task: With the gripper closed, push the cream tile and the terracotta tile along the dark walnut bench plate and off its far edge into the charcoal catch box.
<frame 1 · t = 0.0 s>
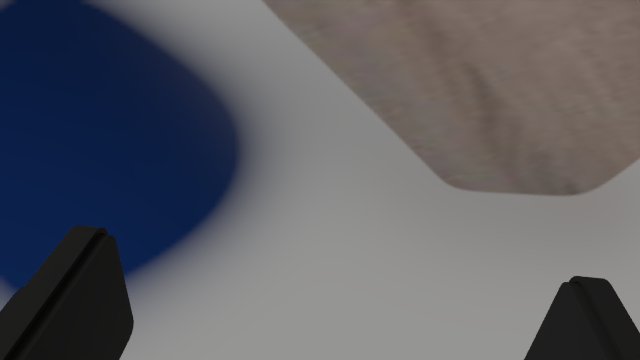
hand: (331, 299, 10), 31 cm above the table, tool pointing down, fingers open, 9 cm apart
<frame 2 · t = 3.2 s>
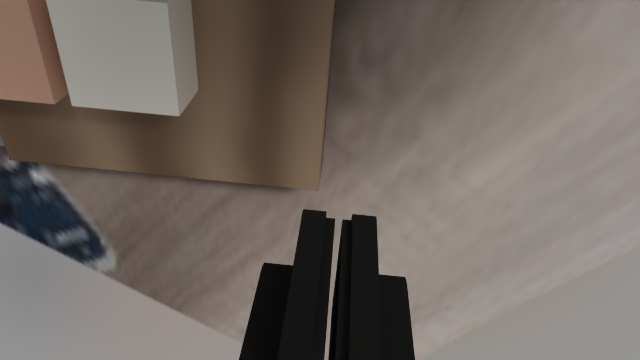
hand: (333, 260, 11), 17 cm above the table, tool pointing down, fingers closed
tile terracotta: (24, 25, 23), point 3 cm above the table, touching bench plate
bench plate: (164, 19, 25), on the table
tile cream: (143, 36, 23), point 3 cm above the table, touching bench plate
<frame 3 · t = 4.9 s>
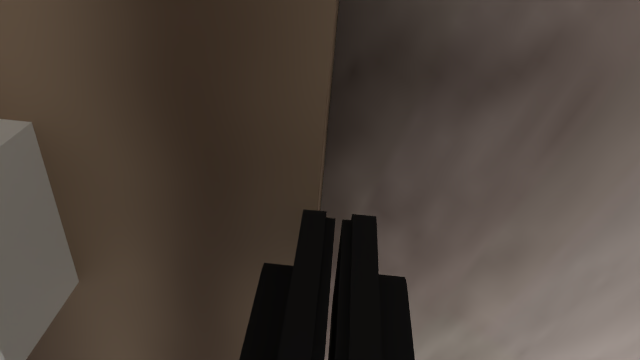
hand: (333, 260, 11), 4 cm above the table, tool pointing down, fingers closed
bench plate: (29, 143, 15), on the table
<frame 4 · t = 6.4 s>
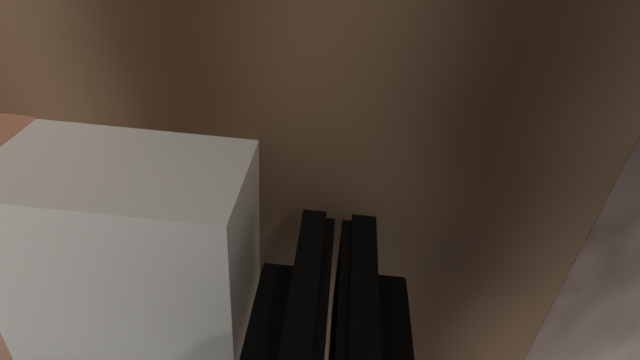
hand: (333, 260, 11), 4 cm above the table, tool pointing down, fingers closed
bench plate: (238, 159, 14), on the table
tile cream: (160, 217, 12), point 3 cm above the table, touching gripper, tile terracotta
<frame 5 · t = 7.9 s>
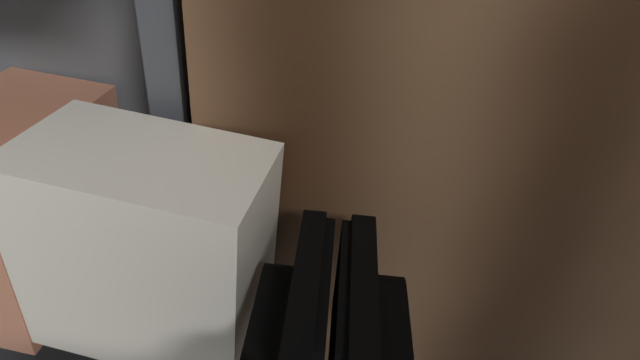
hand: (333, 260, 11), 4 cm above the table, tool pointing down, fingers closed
tile terracotta: (77, 213, 12), point 3 cm above the table, tilted 95°, touching catch box
bench plate: (523, 183, 14), on the table
tile cream: (182, 208, 12), point 3 cm above the table, tilted 7°, touching bench plate, gripper
catch box: (44, 132, 15), on the table
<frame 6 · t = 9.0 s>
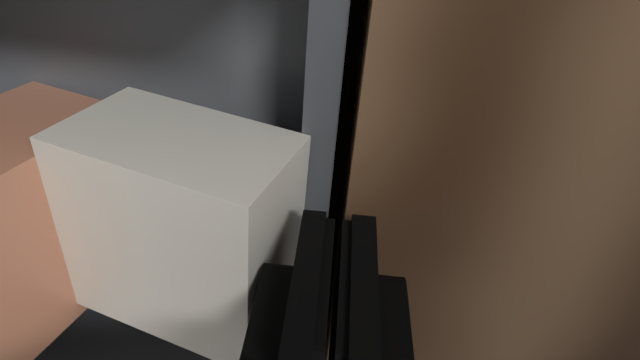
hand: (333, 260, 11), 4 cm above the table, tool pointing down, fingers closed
tile terracotta: (68, 239, 12), point 4 cm above the table, tilted 107°, touching catch box, tile cream
tile cream: (217, 193, 13), point 2 cm above the table, tilted 17°, touching catch box, gripper, tile terracotta
catch box: (158, 157, 14), on the table
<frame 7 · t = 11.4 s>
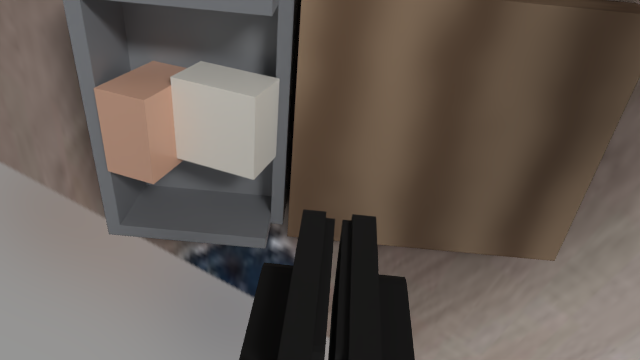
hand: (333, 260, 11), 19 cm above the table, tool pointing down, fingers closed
tile terracotta: (176, 125, 27), point 4 cm above the table, tilted 106°, touching catch box, tile cream
bench plate: (439, 120, 30), on the table
tile cream: (239, 109, 28), point 2 cm above the table, tilted 18°, touching catch box, tile terracotta
catch box: (207, 99, 30), on the table
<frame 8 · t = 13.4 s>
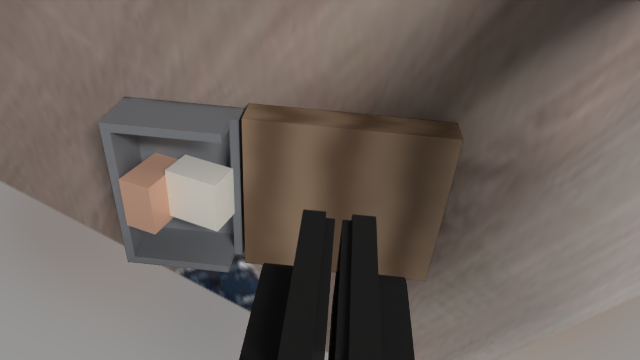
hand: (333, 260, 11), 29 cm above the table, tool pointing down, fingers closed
tile terracotta: (169, 197, 43), point 4 cm above the table, tilted 106°, touching catch box, tile cream
bench plate: (343, 189, 45), on the table
tile cream: (210, 184, 44), point 2 cm above the table, tilted 18°, touching catch box, tile terracotta
catch box: (191, 174, 46), on the table
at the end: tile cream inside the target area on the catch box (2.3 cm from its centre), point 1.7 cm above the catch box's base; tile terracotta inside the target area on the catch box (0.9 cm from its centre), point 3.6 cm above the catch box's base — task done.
